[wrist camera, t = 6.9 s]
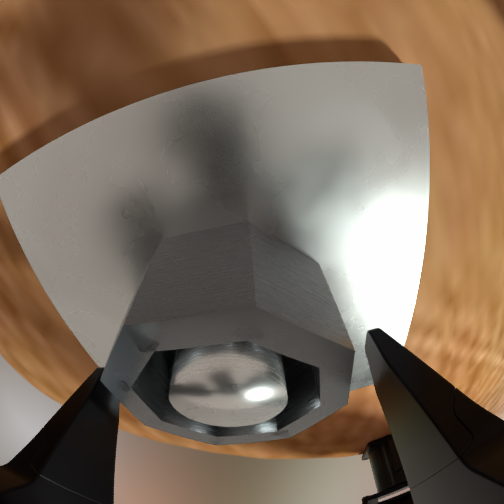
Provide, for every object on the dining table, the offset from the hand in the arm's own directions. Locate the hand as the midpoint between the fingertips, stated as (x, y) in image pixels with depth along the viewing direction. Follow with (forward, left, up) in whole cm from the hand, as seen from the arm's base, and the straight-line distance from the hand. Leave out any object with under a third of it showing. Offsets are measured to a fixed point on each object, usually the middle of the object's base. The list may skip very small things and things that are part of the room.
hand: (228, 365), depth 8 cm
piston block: (0, 0, -4) cm, 4 cm away
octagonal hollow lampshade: (0, 0, -3) cm, 3 cm away
